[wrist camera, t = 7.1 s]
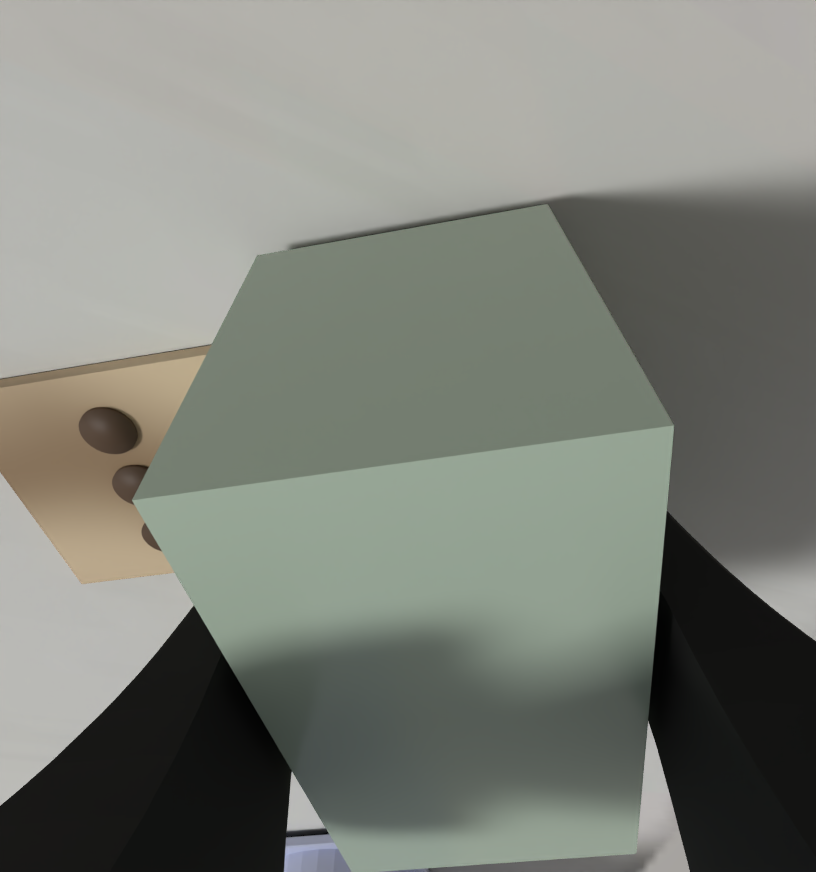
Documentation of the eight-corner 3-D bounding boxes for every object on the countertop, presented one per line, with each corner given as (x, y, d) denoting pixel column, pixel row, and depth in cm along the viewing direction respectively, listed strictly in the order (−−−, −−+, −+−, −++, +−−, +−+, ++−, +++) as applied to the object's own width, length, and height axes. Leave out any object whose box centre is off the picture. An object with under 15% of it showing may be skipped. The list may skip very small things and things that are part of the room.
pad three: (302, 546, 17) (300, 560, 16) (87, 572, 17) (80, 587, 17) (223, 343, 13) (216, 355, 13) (-44, 386, 14) (-58, 399, 13)
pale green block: (564, 573, 17) (635, 853, 11) (369, 596, 17) (352, 873, 12) (547, 203, 11) (674, 424, 6) (257, 255, 11) (132, 500, 6)
